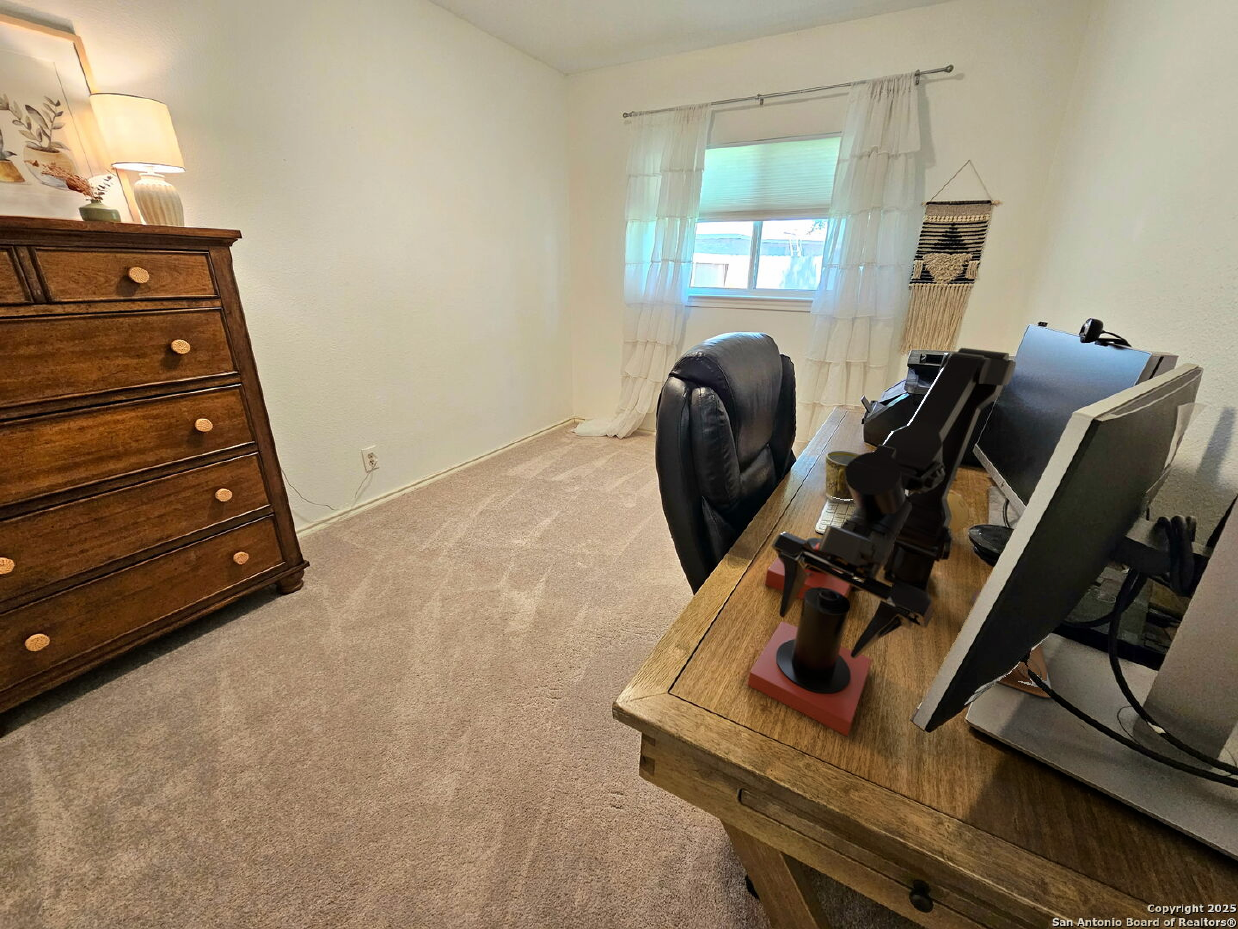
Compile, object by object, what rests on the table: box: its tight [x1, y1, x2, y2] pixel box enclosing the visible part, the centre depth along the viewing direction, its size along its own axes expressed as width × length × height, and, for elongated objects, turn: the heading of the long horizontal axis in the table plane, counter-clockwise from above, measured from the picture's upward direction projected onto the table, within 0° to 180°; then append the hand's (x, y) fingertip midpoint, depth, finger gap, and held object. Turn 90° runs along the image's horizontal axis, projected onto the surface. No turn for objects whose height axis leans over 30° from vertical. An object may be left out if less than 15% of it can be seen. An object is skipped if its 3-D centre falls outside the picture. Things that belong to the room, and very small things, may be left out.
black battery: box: [792, 587, 851, 679], centre depth 60 cm, size 5×5×11 cm
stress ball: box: [947, 488, 970, 535], centre depth 97 cm, size 10×10×10 cm
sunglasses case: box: [971, 588, 1053, 699], centre depth 69 cm, size 18×7×7 cm, turn 149°
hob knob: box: [805, 537, 829, 572], centre depth 81 cm, size 4×4×4 cm
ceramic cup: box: [825, 450, 862, 505], centre depth 110 cm, size 13×10×10 cm
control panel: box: [764, 556, 856, 600], centre depth 81 cm, size 12×11×3 cm
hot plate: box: [747, 620, 873, 737], centre depth 62 cm, size 12×12×2 cm
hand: (815, 635), depth 59 cm, fingers open, 9 cm apart
